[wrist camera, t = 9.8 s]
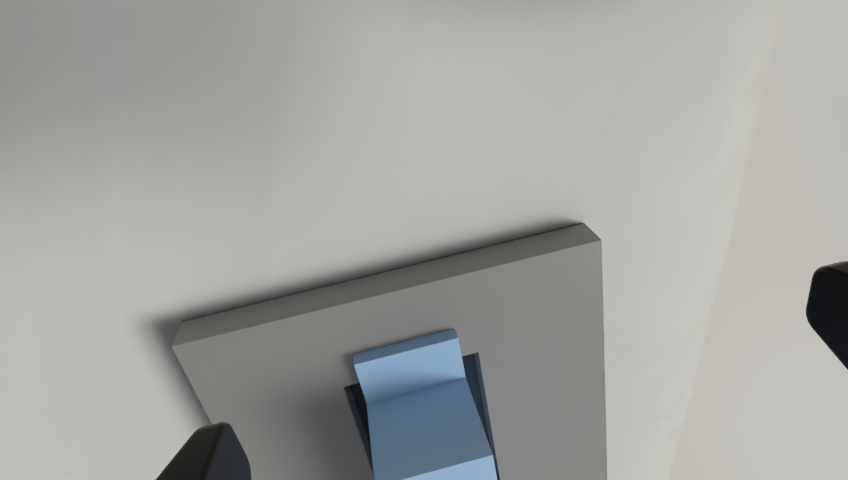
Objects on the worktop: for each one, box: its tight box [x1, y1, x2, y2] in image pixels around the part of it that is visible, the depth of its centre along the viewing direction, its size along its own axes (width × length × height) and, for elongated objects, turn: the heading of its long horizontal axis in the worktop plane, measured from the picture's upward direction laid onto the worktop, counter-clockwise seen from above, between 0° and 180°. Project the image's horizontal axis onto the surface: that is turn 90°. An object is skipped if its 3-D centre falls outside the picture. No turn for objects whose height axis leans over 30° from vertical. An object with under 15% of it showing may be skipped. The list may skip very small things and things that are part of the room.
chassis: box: [171, 223, 607, 480], centre depth 24 cm, size 16×16×2 cm
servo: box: [353, 329, 497, 480], centre depth 22 cm, size 4×11×7 cm, turn 11°
